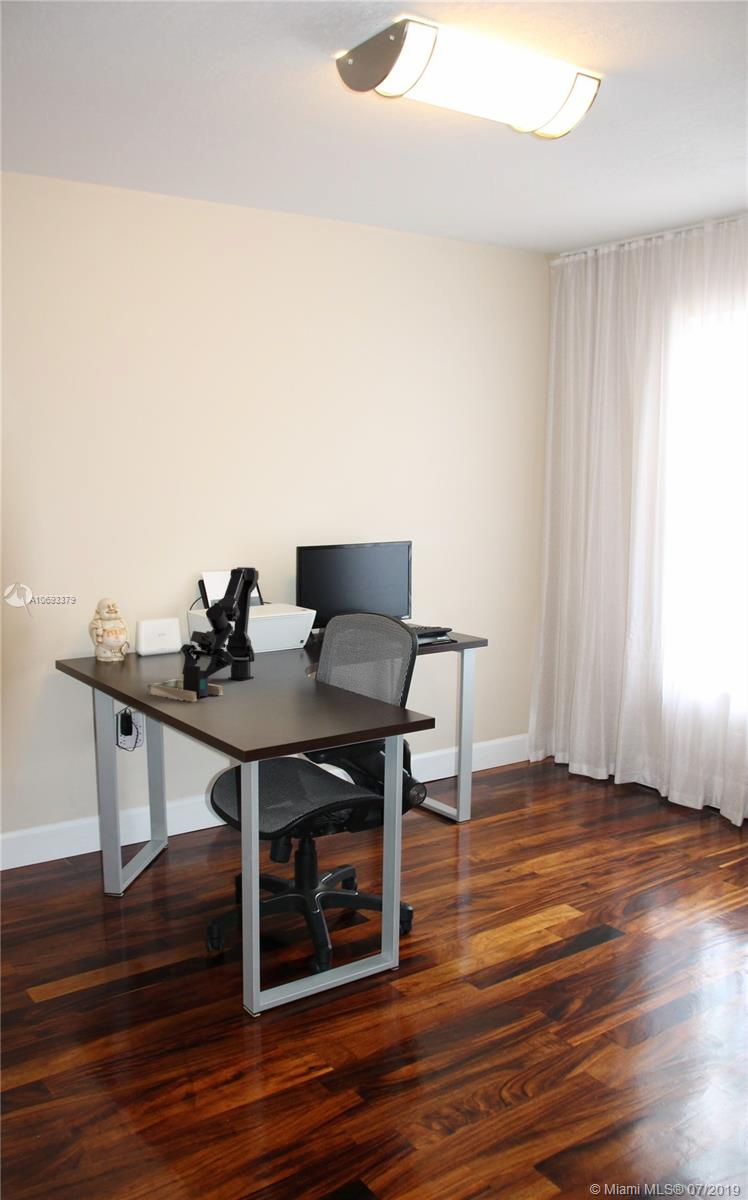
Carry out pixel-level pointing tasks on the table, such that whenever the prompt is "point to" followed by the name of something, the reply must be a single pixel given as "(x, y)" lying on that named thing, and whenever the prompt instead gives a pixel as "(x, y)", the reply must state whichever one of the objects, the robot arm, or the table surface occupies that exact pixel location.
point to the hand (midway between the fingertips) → (193, 675)
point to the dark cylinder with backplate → (195, 681)
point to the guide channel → (179, 690)
